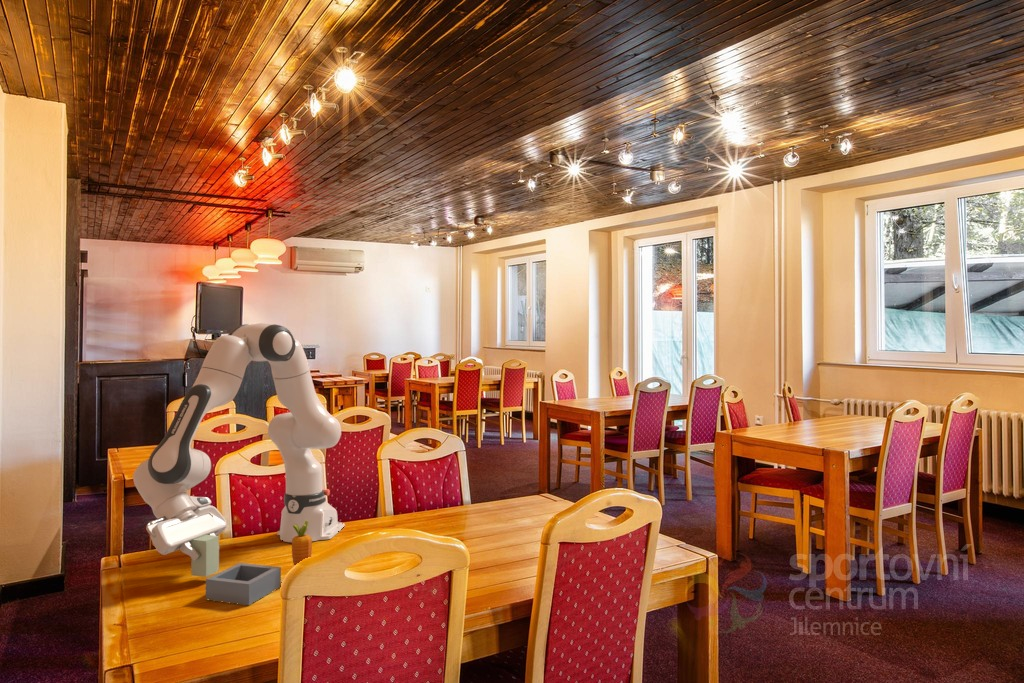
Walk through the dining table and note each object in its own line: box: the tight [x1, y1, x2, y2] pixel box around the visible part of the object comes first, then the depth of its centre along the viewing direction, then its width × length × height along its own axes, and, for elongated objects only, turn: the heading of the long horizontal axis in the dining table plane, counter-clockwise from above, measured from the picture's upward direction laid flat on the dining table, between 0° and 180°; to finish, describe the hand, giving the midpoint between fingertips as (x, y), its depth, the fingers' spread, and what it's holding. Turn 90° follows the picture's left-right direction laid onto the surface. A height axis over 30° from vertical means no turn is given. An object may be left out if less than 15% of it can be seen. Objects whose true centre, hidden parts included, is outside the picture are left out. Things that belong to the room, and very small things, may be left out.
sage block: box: [190, 535, 220, 578], centre depth 164 cm, size 4×4×9 cm
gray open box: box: [205, 562, 282, 606], centre depth 156 cm, size 12×12×5 cm
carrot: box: [291, 520, 313, 566], centre depth 166 cm, size 5×5×15 cm
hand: (207, 554), depth 164 cm, fingers closed on sage block, 5 cm apart
